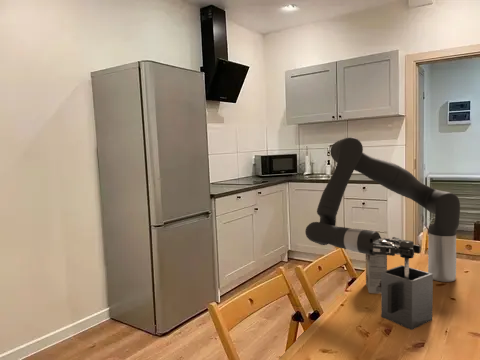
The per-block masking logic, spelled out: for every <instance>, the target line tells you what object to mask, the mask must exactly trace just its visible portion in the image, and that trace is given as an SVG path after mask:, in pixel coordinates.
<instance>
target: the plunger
mask: <svg viewBox="0 0 480 360" xmlns="http://www.w3.org/2000/svg"><path fill="white" fill-rule="evenodd" d="M414 245H415V243H414V241H413V240H406V239H403V240H402V241H400V247H401V246H402V247H408V248H413V249H414ZM399 256H400V257H401V258H402V259H404V265H403V266H404V278H405V279H408V280H409V267H410V259H413V258H414V256H415V255H414V256H407V255H402V254H400V255H399Z"/></svg>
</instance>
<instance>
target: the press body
mask: <svg viewBox="0 0 480 360" xmlns="http://www.w3.org/2000/svg"><path fill="white" fill-rule="evenodd" d="M433 281H434V280H433V274H432V273H428V271H424V270H420V269H417V268H413V267H410V266H409V280H408V279H405V278H404V265H401V264H400V265H399V266H398V265H397V266H395V267H392V268H389V269H387V270H386V271H383V272H381V295H380V296H381V300H380V301H381V303H380V304H381V306H380V308H381V310H380V311H381V312H380V313H381V314H380V315H381V318H382V319H385V320H388V321H389V322H392V323H395V324H397V325H398V326H401V327H404V328H406V329H409V330H411V331H413V330H415V329H417V328H420V327H421V326H423V325H425V324H428V323H430V322H432V321H433V300H434V299H433V292H434V291H433V290H434V288H433V287H434V286H433V285H434V282H433Z"/></svg>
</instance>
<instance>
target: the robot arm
mask: <svg viewBox="0 0 480 360" xmlns="http://www.w3.org/2000/svg"><path fill="white" fill-rule="evenodd" d="M363 147H364V146H363V144H362V142H361V141H360V140H359V139H358V138H356V137H352V136H350V137H348V136H347V137H345V138H342V139H340V140H337V141H335V142H334V143H333V144H332V145H331V147H330V151H329V152H330V156H331V158H332V160H333V161H334V162H336V166H335V169H334V172H333V173H332V175H331V177H330V179H329V181H328V183H327V184H326V186H325V187H324V190H323V192H322V194H321V196H320V200H319V203H318V205H317V209H316V214H317V215H318V217H319V221H313V222H310V223H309V224H308V225H306V228H305V235H306V238H307V239H308V240H309V241H311V242H314V243H315V244H318V245H320V246H327V245H330V246H333V247H335V248H339V249H344V250H348V251H351V252H354V253H359V254H365V255H366V254H368V255H376V254H380V255H387V256H392V257H394V256H396V255H397V256H400V254H402V255H407V256H415V254H419V253H420V252H421V245H418V244H414V249H413V248H408V247H402V246H401V247H400V241H402V240H404V239H403V238H399V237H395V236H393V237H392V238H390V237H383V238H382V237H381V235H380V233H379V232H378V231H374V230H368V229H361V228H350V227H346V226H345V227H343V226H337V225H336V224H337V221H336V220H337V215H338V212H339V208H340V206H341V202H342V200H343V197H344V194H345V191H346V188H347V186H348V184H349V183H350V182H349V181H350V179H351V177H352V175H353V173H354V171H356V172H358V173H359V174H362V175H363V176H365V177H367V178H368V179H369V180H372V181H373V182H376V183H377V184H379V185H381V186H382V187H384V188H386V189H388V190H389V191H392V192H394V193H396V194H398V195H400V196H402V197H405V198H407V199H410V200H412V201H414V202H415V203H416V204H418V206H421V207H422V208H424V209H425V210H426V211H428V212H429V213H431V214H433V215H434V222H433V223H432V224H429V225H428V236H427V237H428V240H427V242H428V244H427V245H428V250H427V252H428V253H427V255H428V256H427V258H428V259H427V261H428V262H427V272H428V273H432V274H433V281H438V282H443V283H445V282H446V283H450V282H454V281H456V278H457V230H458V228H459V227H460V226H459V225H460V215H461V202H460V198H459V197H458V196H457V194H455V193H453V192H449V191H444V190H440V189H436V188H433V187H431V186H428V185H426V184H424V183H422V182H421V181H420V180H419V179H417V177H416V176H414V174H413V173H411V172H410V171H408V170H407V169H406V168H404V167H402V166H400V165H398V164H396V163H394V162H391V161H388V160H385V159H382V158H381V159H380V158H378V157H375V156H370V155H368V154H366V153H364V152H363V151H364V148H363Z"/></svg>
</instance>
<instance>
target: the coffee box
mask: <svg viewBox="0 0 480 360" xmlns="http://www.w3.org/2000/svg"><path fill="white" fill-rule="evenodd" d="M386 270H388V255H380V254H376V255H368V254H365V284H366V288H367V291H368V293H369V294H381V272H383V271H386Z"/></svg>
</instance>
